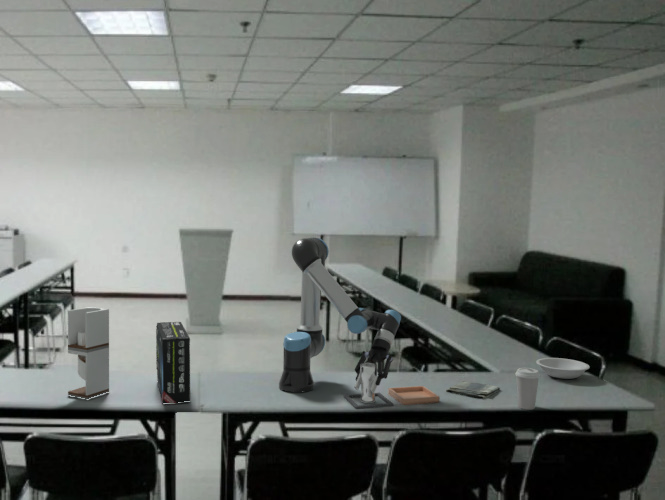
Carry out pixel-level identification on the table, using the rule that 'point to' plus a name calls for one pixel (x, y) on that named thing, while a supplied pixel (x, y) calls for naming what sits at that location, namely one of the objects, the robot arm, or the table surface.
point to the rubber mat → (388, 403)
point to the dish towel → (474, 389)
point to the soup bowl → (562, 367)
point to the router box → (173, 362)
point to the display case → (90, 349)
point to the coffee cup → (527, 387)
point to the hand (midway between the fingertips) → (364, 389)
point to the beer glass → (367, 381)
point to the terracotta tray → (413, 395)
